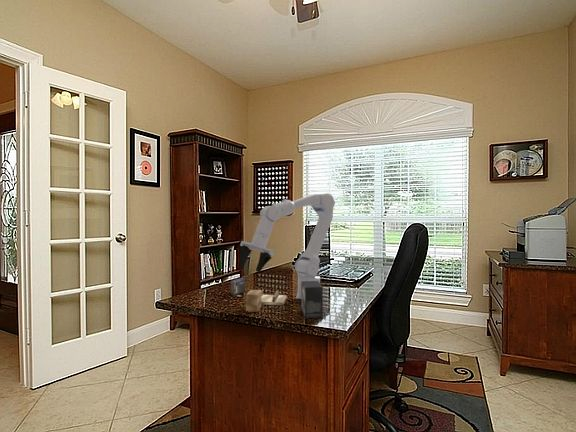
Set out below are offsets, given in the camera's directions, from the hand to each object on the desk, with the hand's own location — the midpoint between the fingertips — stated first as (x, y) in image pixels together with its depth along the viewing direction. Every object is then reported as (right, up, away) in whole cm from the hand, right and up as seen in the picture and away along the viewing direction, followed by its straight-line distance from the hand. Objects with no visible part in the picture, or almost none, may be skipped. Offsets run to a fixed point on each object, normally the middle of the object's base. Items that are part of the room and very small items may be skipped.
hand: (249, 268), depth 130 cm
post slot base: (+6, -14, +7) cm, 17 cm away
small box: (+23, -14, -11) cm, 29 cm away
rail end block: (+2, -14, -5) cm, 15 cm away
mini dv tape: (-7, -14, +20) cm, 26 cm away
